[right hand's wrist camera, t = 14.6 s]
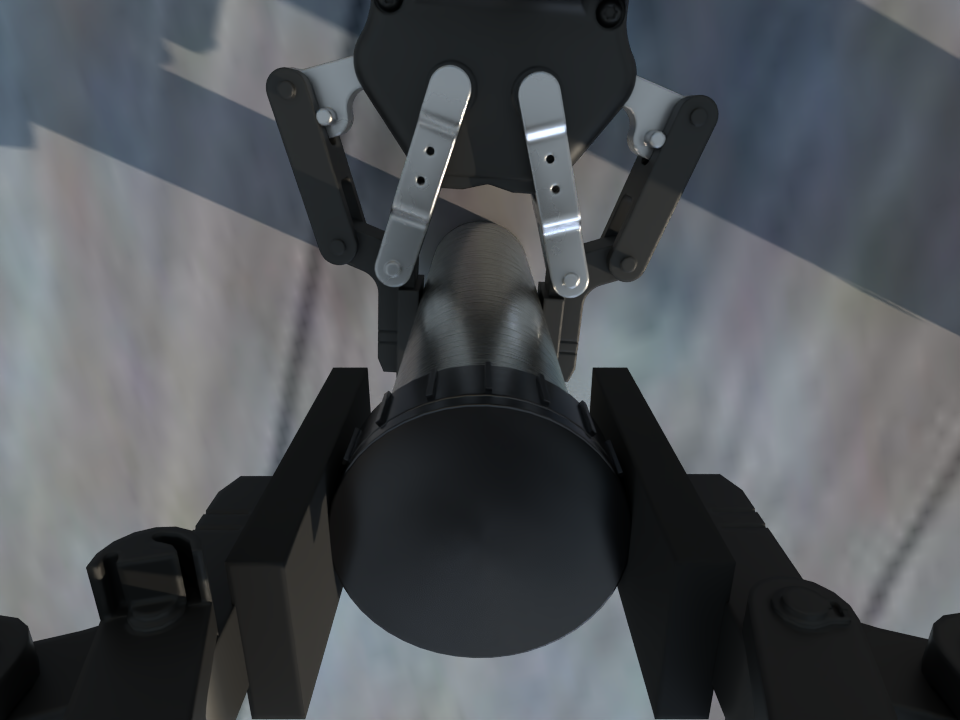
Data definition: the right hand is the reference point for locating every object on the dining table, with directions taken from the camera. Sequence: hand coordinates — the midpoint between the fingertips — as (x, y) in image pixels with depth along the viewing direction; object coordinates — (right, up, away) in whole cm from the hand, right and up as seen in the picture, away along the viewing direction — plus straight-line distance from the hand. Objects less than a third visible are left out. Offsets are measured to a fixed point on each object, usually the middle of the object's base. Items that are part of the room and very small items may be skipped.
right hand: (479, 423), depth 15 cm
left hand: (0, +1, +9) cm, 9 cm away
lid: (0, -1, -4) cm, 4 cm away
